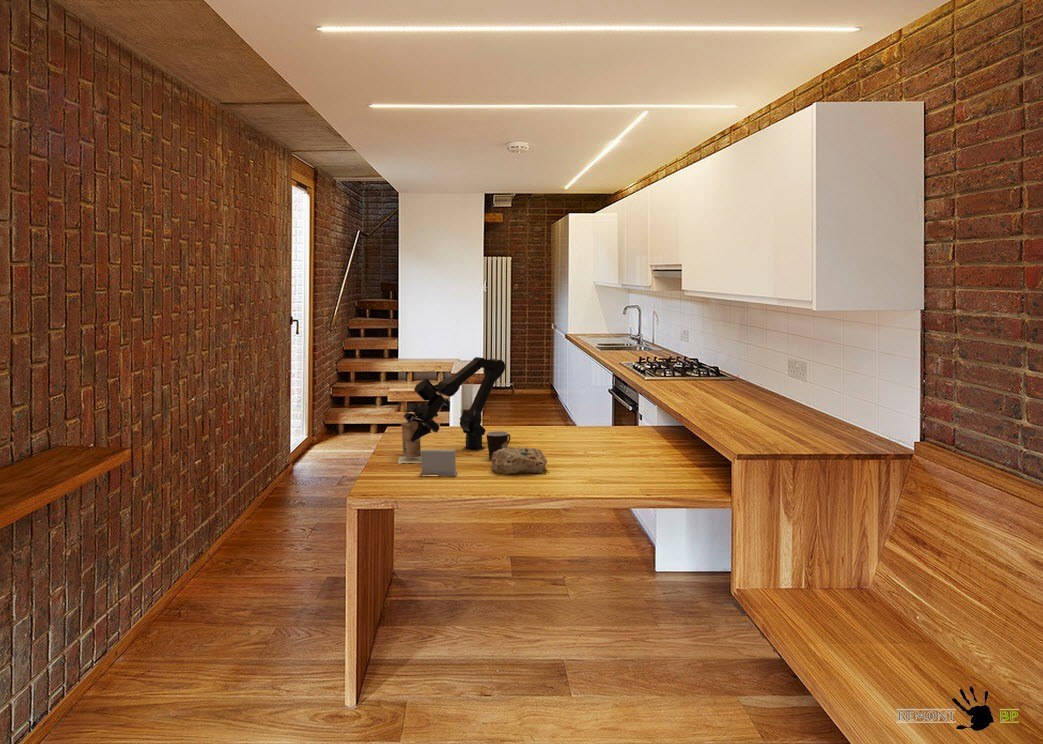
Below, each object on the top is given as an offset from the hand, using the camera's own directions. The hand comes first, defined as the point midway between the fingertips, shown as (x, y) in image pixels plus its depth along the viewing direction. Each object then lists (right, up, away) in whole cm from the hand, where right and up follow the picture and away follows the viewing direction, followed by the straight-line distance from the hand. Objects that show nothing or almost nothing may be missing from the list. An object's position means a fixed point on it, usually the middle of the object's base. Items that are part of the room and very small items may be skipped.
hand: (408, 439), depth 290 cm
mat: (+1, -8, +2) cm, 8 cm away
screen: (+14, -11, -19) cm, 26 cm away
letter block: (+1, -6, +2) cm, 7 cm away
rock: (+43, -11, -14) cm, 46 cm away
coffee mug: (+36, -8, +5) cm, 37 cm away
